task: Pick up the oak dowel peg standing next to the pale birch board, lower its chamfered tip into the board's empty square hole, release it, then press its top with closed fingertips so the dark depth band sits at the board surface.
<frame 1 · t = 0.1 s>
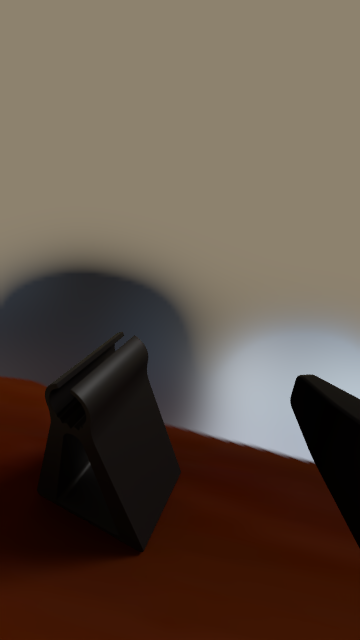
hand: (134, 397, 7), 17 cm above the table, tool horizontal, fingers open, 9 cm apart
phone stand: (112, 485, 22), on the table
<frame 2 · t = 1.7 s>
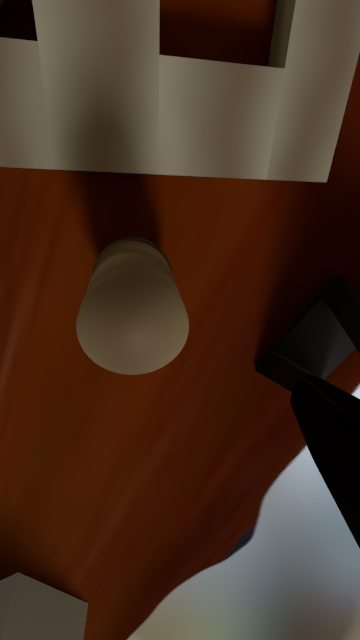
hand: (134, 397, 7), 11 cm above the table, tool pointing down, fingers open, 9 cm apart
milk: (17, 605, 35), on the table
phone stand: (317, 339, 23), on the table
oak peg: (133, 265, 17), on the table
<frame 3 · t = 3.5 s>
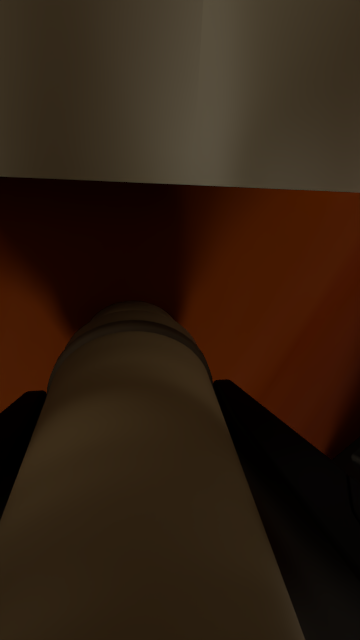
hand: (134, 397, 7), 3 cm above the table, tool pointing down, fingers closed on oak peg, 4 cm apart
oak peg: (133, 344, 10), on the table, touching gripper
when the fingers open (3 cm above the table, at t = 7.1 s): oak peg stays where it is, on the table.
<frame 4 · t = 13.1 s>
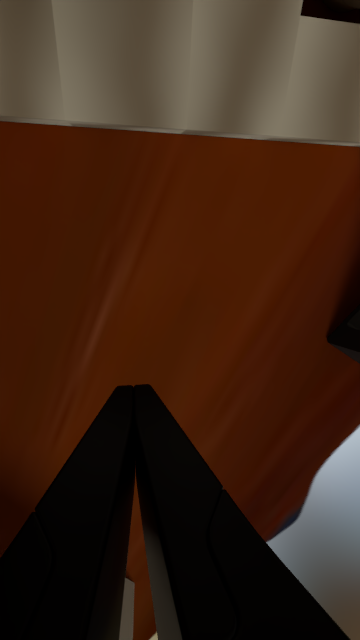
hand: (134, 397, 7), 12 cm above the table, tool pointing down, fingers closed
milk: (67, 583, 35), on the table
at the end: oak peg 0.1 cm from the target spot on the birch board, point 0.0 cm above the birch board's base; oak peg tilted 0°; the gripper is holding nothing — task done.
